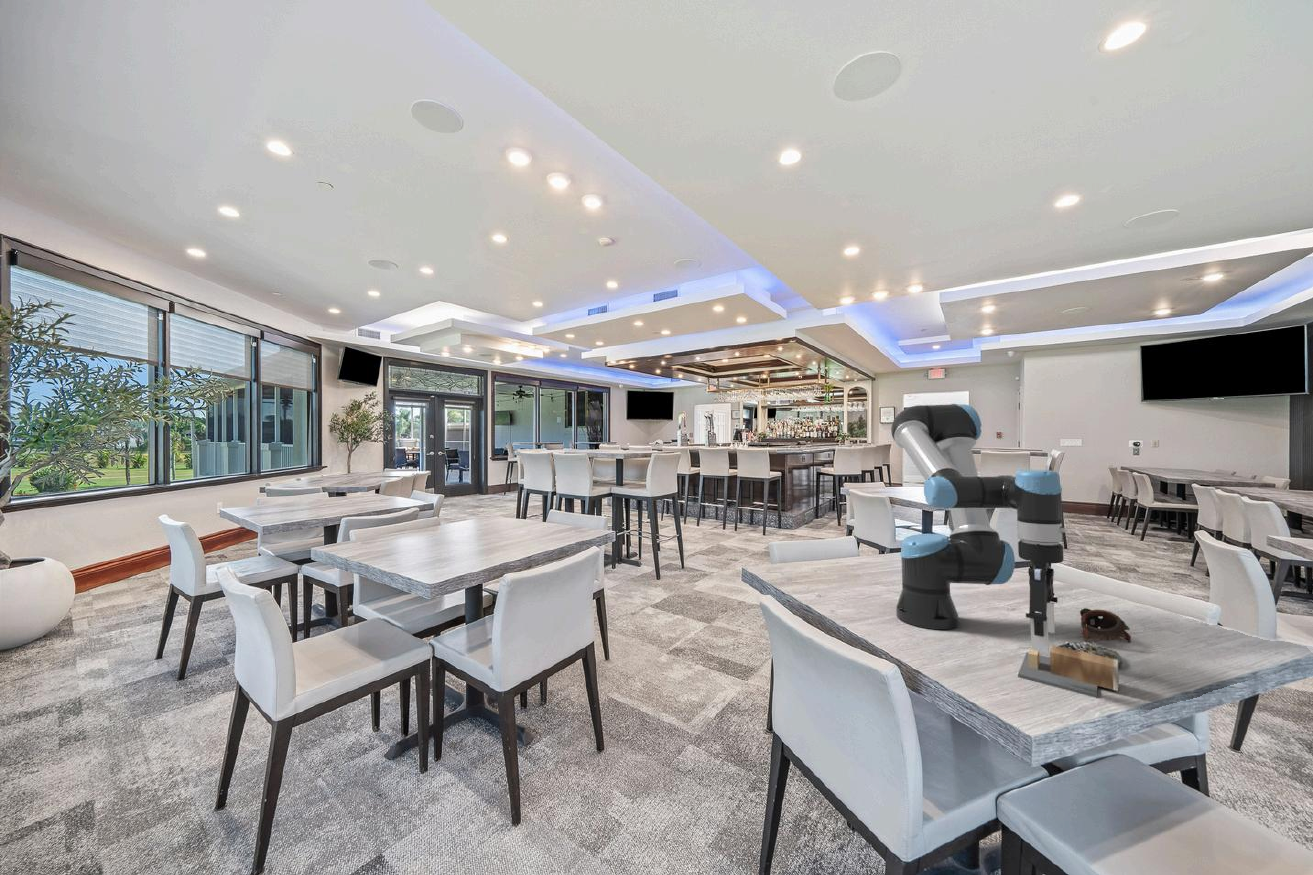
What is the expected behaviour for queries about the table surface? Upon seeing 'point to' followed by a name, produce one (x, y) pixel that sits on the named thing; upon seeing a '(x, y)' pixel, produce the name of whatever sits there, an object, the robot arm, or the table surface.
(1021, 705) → the table surface
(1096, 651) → the oyster shell
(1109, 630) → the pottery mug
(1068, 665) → the teak block
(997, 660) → the table surface
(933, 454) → the robot arm
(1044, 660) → the board
